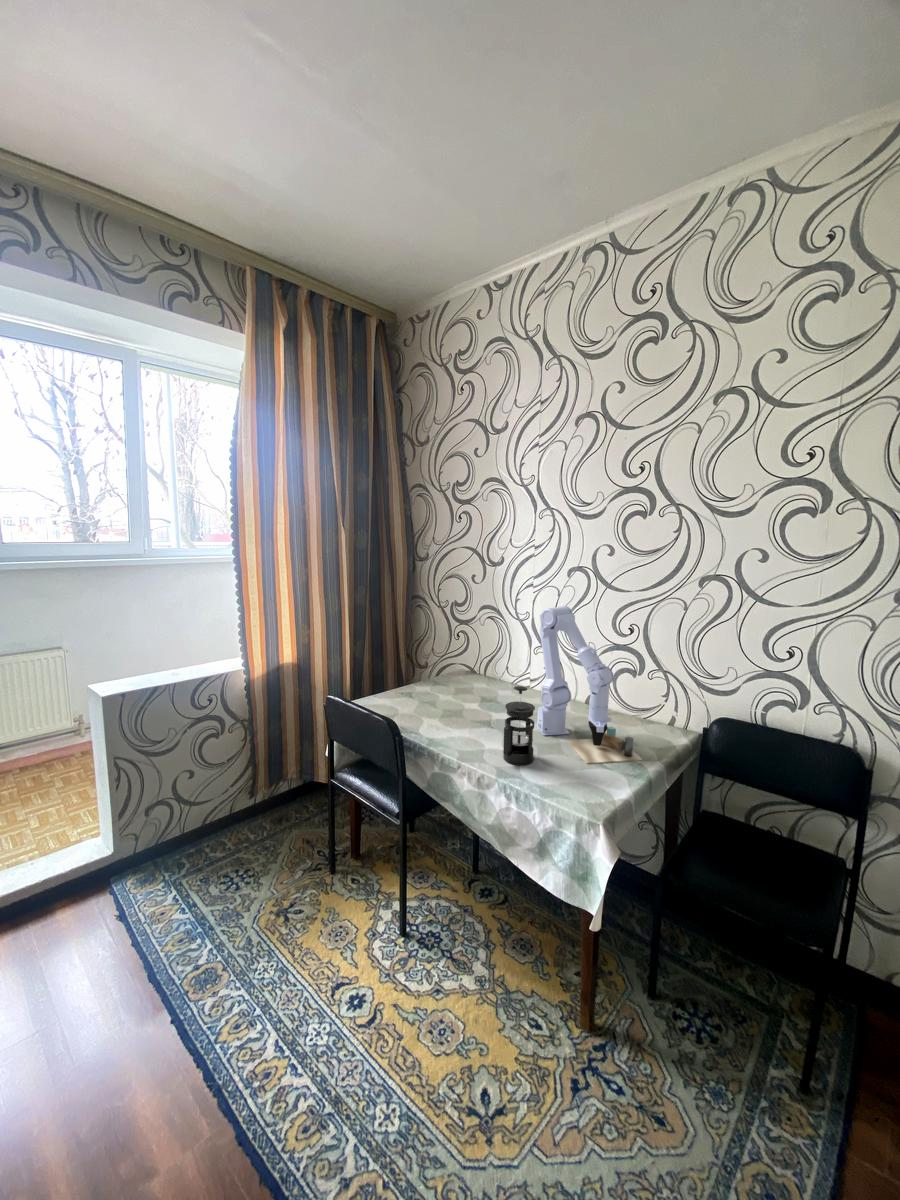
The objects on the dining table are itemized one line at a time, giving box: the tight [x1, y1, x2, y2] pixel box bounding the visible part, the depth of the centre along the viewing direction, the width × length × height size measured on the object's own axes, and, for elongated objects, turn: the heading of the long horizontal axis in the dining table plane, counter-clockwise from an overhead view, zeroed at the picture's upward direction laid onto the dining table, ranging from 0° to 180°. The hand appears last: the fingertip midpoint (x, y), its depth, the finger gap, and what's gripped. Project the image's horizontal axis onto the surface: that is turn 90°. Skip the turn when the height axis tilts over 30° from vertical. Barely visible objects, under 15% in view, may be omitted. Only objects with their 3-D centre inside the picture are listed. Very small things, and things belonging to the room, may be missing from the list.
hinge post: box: [624, 736, 634, 757], centre depth 153 cm, size 2×2×6 cm
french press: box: [502, 685, 536, 767], centre depth 150 cm, size 12×9×23 cm
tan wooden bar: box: [601, 732, 625, 752], centre depth 159 cm, size 11×2×4 cm, turn 36°
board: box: [566, 736, 643, 765], centre depth 158 cm, size 18×16×1 cm
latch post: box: [606, 726, 617, 737], centre depth 165 cm, size 2×2×4 cm
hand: (596, 744), depth 159 cm, fingers closed
